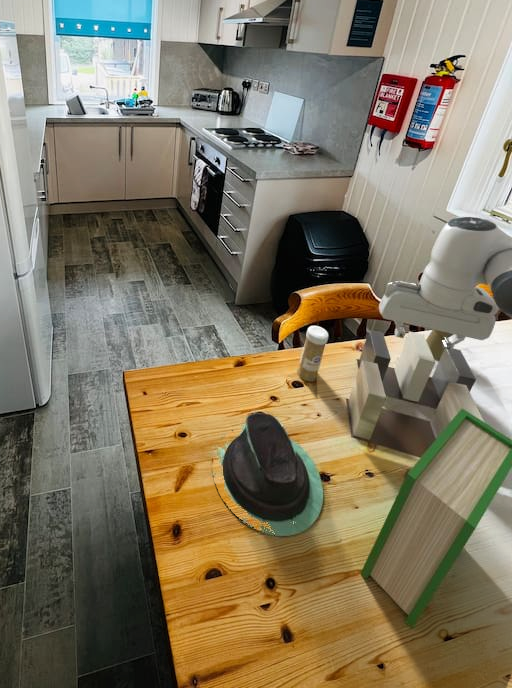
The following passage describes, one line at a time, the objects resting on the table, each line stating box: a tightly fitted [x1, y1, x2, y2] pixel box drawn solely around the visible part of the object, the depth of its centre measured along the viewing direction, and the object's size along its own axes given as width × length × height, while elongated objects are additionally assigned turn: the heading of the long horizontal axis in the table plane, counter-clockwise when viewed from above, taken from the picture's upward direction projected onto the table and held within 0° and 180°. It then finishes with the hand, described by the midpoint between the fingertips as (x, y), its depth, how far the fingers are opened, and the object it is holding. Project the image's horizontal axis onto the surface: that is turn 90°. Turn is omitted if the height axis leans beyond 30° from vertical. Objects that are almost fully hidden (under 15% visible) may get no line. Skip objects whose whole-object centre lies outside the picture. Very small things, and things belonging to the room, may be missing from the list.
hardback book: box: [360, 409, 512, 629], centre depth 57 cm, size 18×7×24 cm, turn 125°
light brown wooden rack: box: [345, 360, 486, 459], centre depth 79 cm, size 20×10×13 cm, turn 72°
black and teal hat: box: [212, 411, 324, 537], centre depth 72 cm, size 15×19×20 cm
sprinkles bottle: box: [296, 325, 329, 383], centre depth 93 cm, size 5×5×13 cm
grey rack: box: [356, 329, 477, 410], centre depth 91 cm, size 20×10×11 cm, turn 72°
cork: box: [425, 329, 454, 361], centre depth 101 cm, size 6×6×11 cm
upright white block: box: [394, 330, 436, 402], centre depth 90 cm, size 3×9×12 cm, turn 162°
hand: (422, 341), depth 87 cm, fingers open, 8 cm apart
